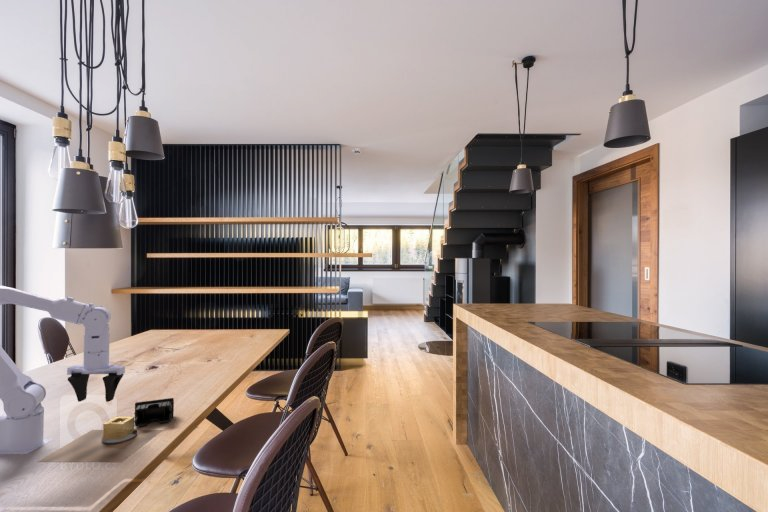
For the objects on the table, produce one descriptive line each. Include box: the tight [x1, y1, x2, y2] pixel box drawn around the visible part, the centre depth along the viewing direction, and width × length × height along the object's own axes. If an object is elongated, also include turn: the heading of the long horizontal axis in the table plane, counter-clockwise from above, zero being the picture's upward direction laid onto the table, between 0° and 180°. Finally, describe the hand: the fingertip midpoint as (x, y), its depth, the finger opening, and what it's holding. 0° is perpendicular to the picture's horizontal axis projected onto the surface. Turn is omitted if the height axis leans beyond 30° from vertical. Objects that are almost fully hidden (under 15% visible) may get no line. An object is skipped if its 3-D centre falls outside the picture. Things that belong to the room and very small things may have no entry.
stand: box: [101, 421, 138, 444], centre depth 107 cm, size 8×8×4 cm
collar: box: [102, 416, 135, 439], centre depth 107 cm, size 5×5×4 cm
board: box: [36, 429, 164, 463], centre depth 103 cm, size 20×18×1 cm
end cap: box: [133, 397, 175, 427], centre depth 118 cm, size 10×7×7 cm
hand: (95, 400), depth 109 cm, fingers open, 7 cm apart
